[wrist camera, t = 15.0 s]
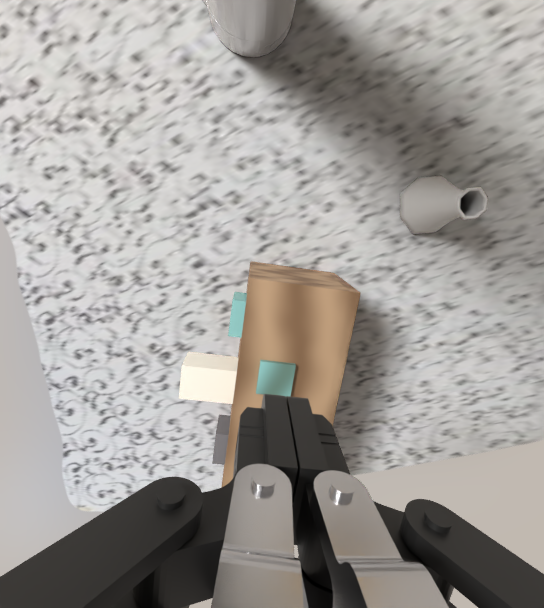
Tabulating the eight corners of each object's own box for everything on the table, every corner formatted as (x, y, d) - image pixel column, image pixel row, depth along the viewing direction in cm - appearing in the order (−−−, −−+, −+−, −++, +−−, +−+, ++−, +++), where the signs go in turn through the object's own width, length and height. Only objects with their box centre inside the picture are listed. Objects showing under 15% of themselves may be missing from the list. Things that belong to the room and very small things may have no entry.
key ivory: (185, 381, 43) (178, 398, 39) (188, 351, 42) (181, 365, 39) (266, 390, 44) (267, 407, 40) (271, 361, 43) (272, 375, 39)
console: (227, 437, 52) (219, 505, 40) (250, 261, 46) (249, 278, 33) (301, 444, 53) (315, 513, 41) (334, 272, 46) (362, 294, 34)
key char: (215, 442, 46) (212, 463, 42) (219, 414, 45) (216, 433, 41) (292, 449, 46) (295, 470, 43) (297, 422, 46) (301, 442, 42)
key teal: (230, 324, 42) (228, 336, 38) (234, 291, 41) (232, 299, 37) (313, 334, 43) (319, 346, 39) (319, 302, 42) (326, 312, 38)
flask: (445, 165, 44) (499, 152, 34) (460, 220, 46) (515, 223, 36) (390, 189, 44) (428, 182, 35) (407, 243, 46) (448, 251, 36)
